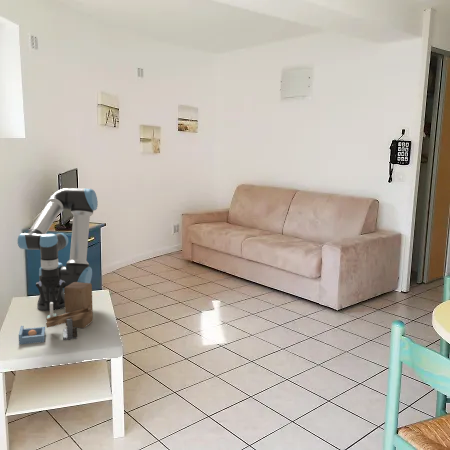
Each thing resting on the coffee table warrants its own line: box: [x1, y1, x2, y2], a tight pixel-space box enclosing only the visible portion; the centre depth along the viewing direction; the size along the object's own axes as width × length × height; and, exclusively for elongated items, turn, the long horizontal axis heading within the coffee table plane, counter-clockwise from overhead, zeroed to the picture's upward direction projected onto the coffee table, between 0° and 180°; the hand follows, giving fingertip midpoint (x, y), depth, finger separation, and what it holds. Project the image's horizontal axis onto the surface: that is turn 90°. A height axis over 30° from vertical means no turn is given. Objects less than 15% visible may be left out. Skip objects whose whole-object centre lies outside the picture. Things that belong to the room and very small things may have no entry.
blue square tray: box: [18, 325, 46, 346], centre depth 215 cm, size 10×10×4 cm
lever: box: [45, 305, 92, 329], centre depth 222 cm, size 20×13×4 cm, turn 108°
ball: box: [28, 330, 37, 336], centre depth 215 cm, size 4×4×4 cm
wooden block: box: [63, 282, 94, 329], centre depth 231 cm, size 10×10×20 cm
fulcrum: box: [62, 312, 78, 341], centre depth 220 cm, size 6×11×9 cm, turn 18°
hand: (51, 316), depth 223 cm, fingers closed
